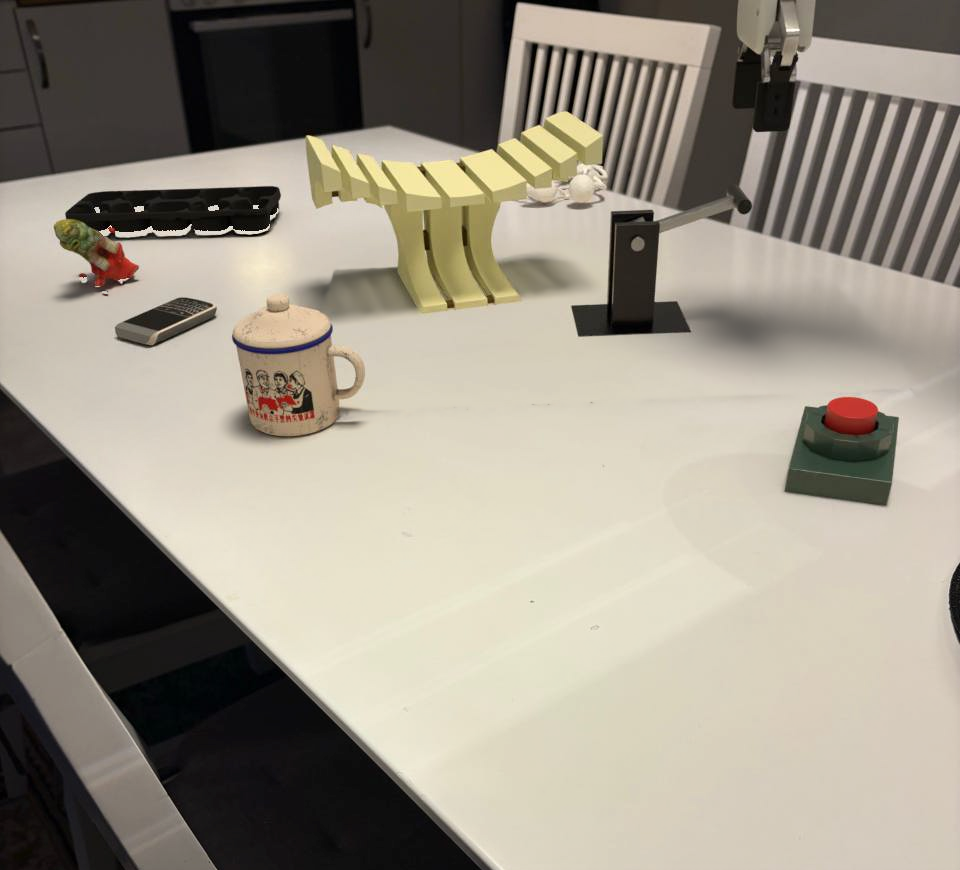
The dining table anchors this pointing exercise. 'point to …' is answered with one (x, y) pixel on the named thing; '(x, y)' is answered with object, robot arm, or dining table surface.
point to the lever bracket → (631, 284)
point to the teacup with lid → (291, 368)
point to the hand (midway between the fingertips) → (759, 118)
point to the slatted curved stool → (454, 204)
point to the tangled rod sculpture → (574, 185)
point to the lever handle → (706, 210)
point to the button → (851, 416)
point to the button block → (843, 460)
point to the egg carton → (179, 209)
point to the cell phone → (165, 320)
